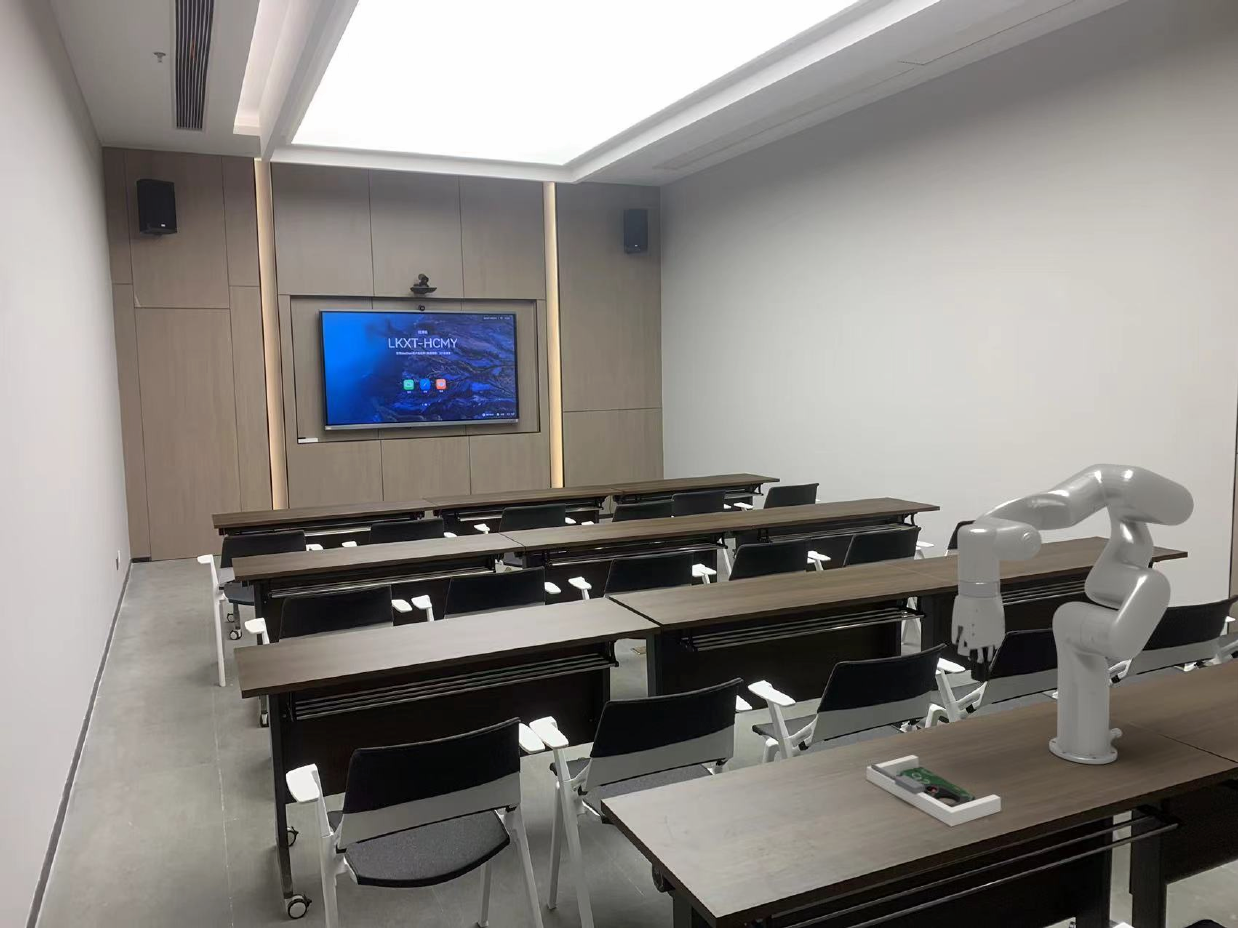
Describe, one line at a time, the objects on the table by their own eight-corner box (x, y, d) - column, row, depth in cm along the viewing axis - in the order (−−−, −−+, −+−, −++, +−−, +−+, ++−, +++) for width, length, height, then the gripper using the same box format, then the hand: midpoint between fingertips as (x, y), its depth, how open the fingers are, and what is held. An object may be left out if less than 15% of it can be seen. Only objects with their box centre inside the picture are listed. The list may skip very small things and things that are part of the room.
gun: (883, 774, 176) (924, 765, 180) (883, 781, 176) (924, 772, 180) (939, 809, 161) (983, 798, 165) (939, 816, 161) (983, 806, 165)
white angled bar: (913, 766, 182) (912, 749, 181) (1000, 810, 162) (1000, 791, 162) (865, 779, 176) (864, 761, 176) (949, 827, 157) (949, 806, 156)
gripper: (990, 579, 179) (991, 668, 181) (935, 590, 173) (937, 682, 174) (1022, 586, 173) (1023, 678, 174) (966, 597, 166) (968, 693, 168)
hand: (980, 680), depth 174 cm, fingers closed
